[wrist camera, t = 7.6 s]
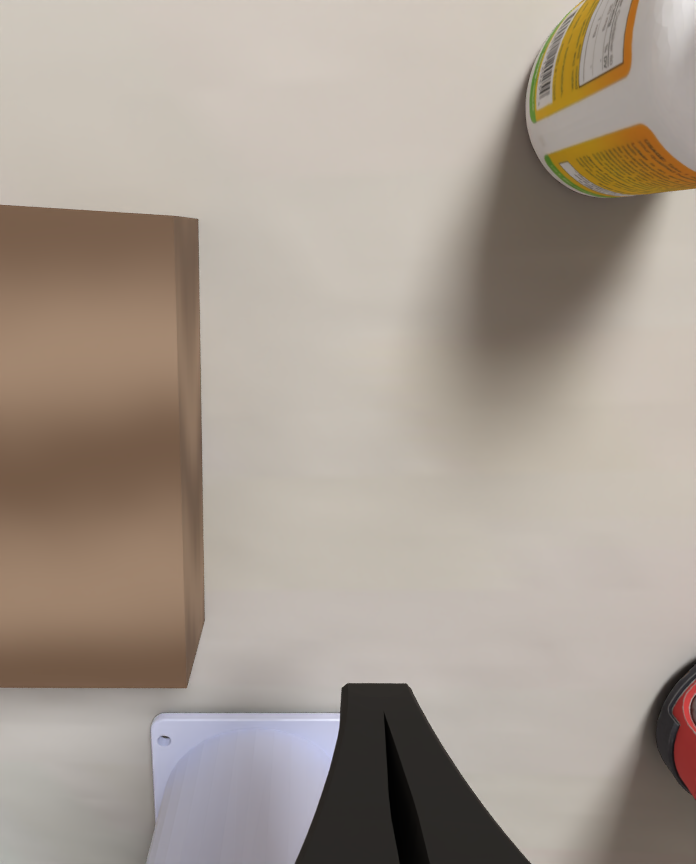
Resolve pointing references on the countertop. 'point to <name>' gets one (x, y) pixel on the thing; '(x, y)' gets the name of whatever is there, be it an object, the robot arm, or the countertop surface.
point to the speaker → (680, 731)
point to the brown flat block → (99, 449)
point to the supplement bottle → (617, 98)
